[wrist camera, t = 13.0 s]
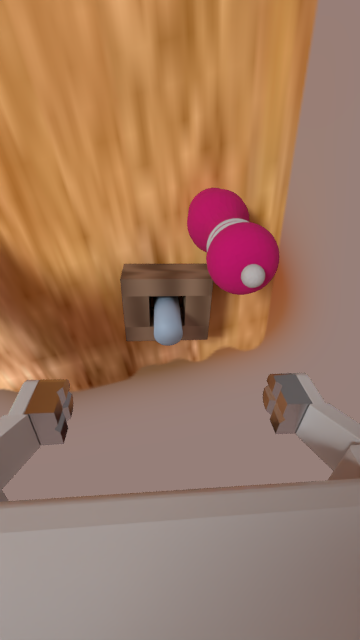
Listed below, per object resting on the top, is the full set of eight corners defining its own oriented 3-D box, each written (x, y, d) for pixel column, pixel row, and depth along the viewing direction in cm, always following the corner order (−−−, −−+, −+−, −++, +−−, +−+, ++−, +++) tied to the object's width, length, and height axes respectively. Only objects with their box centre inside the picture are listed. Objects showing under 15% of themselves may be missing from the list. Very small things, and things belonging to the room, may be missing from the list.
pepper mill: (243, 231, 39) (307, 308, 22) (192, 247, 39) (217, 332, 23) (234, 175, 35) (304, 217, 18) (177, 193, 35) (196, 249, 19)
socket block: (129, 322, 46) (126, 341, 42) (124, 263, 40) (120, 279, 36) (202, 320, 46) (207, 339, 42) (207, 263, 41) (213, 278, 37)
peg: (154, 284, 42) (153, 322, 34) (178, 284, 42) (183, 322, 34) (154, 305, 44) (154, 345, 36) (177, 304, 44) (182, 345, 36)
